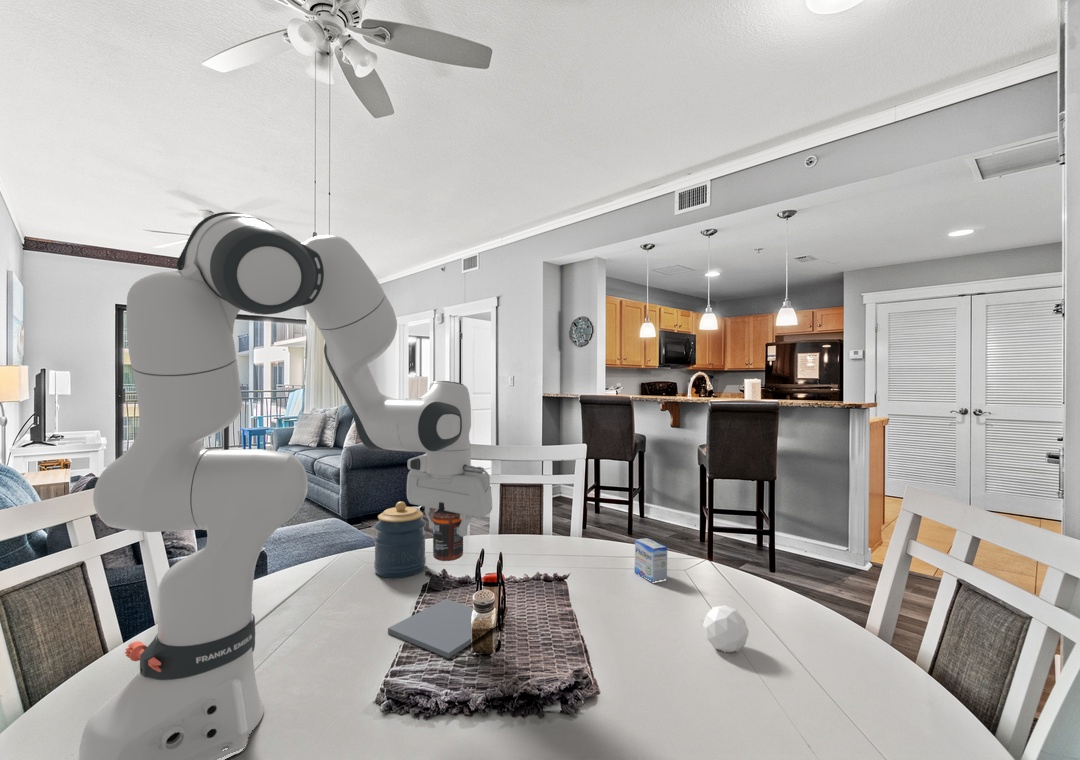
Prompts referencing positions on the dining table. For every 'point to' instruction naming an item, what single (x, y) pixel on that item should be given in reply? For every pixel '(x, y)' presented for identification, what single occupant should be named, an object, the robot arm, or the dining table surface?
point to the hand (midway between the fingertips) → (447, 532)
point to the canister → (400, 542)
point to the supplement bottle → (446, 535)
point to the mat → (438, 628)
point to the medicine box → (650, 559)
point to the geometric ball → (725, 628)
